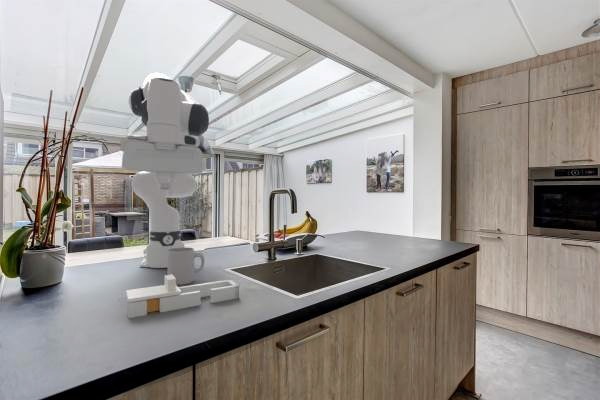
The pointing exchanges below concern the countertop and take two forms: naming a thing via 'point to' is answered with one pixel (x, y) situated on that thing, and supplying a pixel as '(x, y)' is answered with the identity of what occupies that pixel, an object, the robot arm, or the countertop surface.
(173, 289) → the cover
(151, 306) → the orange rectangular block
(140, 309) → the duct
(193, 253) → the mug
